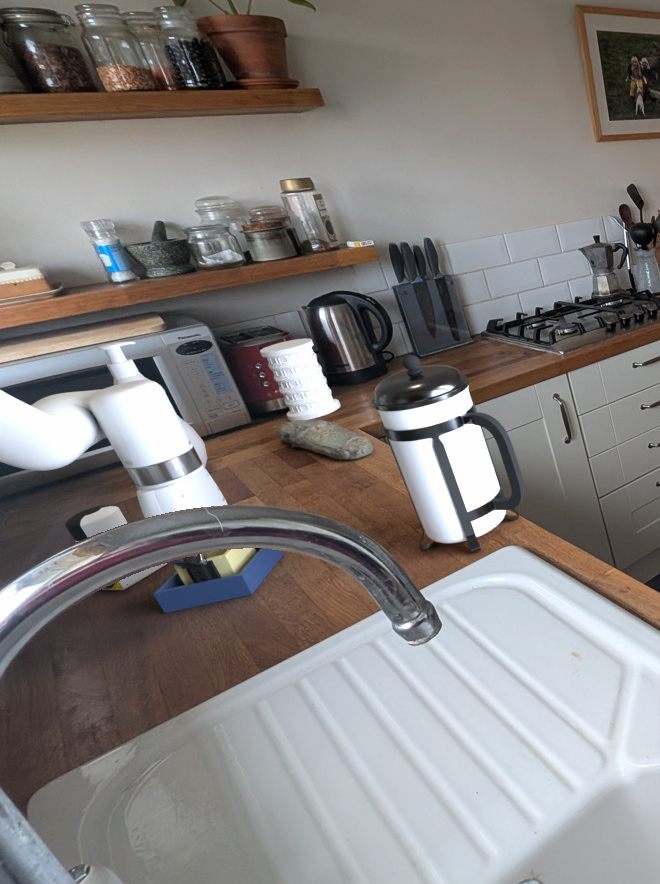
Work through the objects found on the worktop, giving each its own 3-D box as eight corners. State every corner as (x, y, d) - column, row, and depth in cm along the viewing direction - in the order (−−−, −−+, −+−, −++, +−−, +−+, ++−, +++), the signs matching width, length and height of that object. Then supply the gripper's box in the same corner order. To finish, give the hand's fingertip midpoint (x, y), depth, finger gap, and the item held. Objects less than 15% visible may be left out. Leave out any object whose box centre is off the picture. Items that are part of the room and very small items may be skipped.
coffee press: (418, 575, 99) (340, 384, 86) (422, 526, 112) (356, 354, 100) (540, 537, 105) (484, 353, 93) (530, 495, 118) (480, 329, 106)
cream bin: (190, 594, 99) (173, 566, 97) (213, 569, 105) (198, 542, 103) (240, 583, 100) (225, 555, 98) (260, 559, 106) (246, 532, 104)
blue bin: (165, 613, 97) (153, 594, 95) (206, 569, 107) (196, 551, 105) (252, 594, 99) (241, 574, 97) (284, 553, 109) (275, 534, 108)
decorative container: (332, 415, 170) (303, 346, 163) (280, 424, 167) (249, 355, 160) (346, 400, 180) (320, 335, 173) (298, 408, 178) (269, 343, 170)
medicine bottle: (87, 590, 105) (44, 524, 100) (134, 562, 111) (96, 500, 106) (123, 591, 104) (82, 524, 99) (169, 563, 110) (132, 499, 105)
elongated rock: (342, 474, 139) (390, 455, 146) (334, 450, 137) (384, 433, 144) (265, 440, 156) (312, 425, 164) (257, 419, 154) (305, 405, 162)
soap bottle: (230, 470, 144) (164, 337, 132) (164, 496, 135) (86, 356, 123) (195, 459, 152) (129, 333, 140) (131, 483, 143) (55, 351, 131)
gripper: (171, 448, 102) (224, 547, 109) (93, 502, 86) (162, 614, 94) (227, 438, 103) (276, 536, 111) (160, 490, 88) (222, 600, 95)
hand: (223, 571), depth 102 cm, fingers closed on cream bin, 6 cm apart
